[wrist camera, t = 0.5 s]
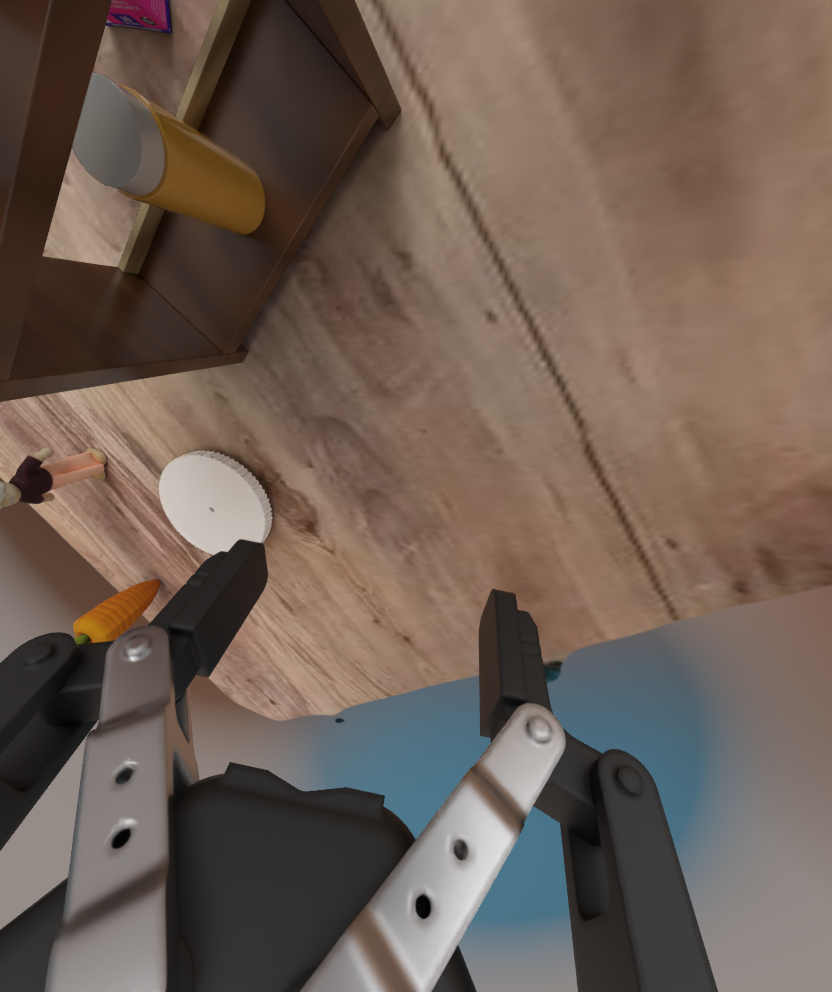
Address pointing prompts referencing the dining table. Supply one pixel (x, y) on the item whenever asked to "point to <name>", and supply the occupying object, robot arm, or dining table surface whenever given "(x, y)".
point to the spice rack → (157, 232)
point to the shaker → (164, 160)
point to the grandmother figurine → (50, 476)
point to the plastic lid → (214, 501)
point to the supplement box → (140, 14)
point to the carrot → (115, 614)
